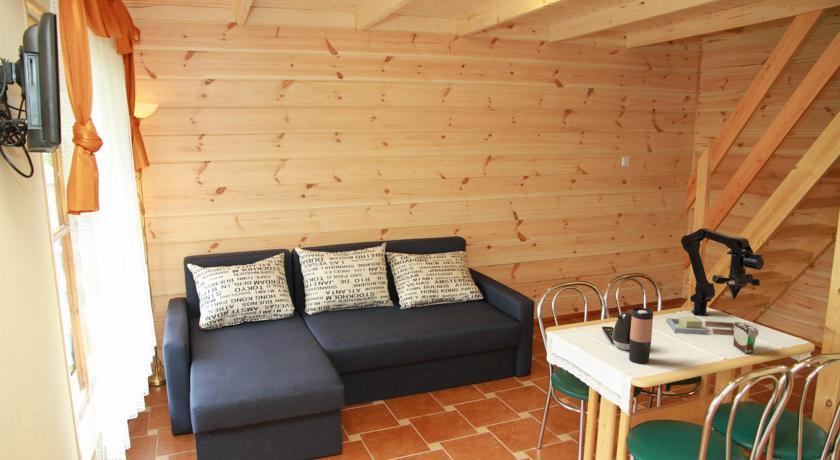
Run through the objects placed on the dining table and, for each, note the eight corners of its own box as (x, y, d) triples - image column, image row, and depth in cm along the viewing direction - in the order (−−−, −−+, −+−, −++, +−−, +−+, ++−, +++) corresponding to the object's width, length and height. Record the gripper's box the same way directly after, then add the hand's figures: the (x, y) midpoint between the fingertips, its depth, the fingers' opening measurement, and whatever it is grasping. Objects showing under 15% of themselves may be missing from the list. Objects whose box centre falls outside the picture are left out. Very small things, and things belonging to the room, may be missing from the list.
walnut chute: (704, 325, 269) (705, 321, 269) (742, 327, 267) (742, 323, 266) (713, 334, 257) (713, 329, 257) (752, 336, 255) (753, 332, 255)
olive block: (678, 327, 267) (679, 316, 266) (693, 327, 267) (694, 316, 266) (685, 332, 260) (686, 321, 259) (701, 332, 260) (702, 321, 259)
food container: (762, 356, 233) (765, 331, 231) (746, 355, 233) (749, 331, 231) (746, 344, 245) (748, 321, 243) (731, 344, 245) (733, 321, 243)
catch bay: (666, 321, 273) (666, 317, 273) (696, 323, 271) (697, 319, 271) (674, 332, 258) (675, 328, 258) (707, 334, 256) (707, 330, 256)
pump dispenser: (605, 345, 242) (608, 309, 240) (626, 342, 246) (629, 307, 243) (622, 353, 233) (625, 316, 230) (643, 350, 236) (646, 314, 234)
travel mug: (644, 356, 230) (648, 307, 227) (652, 364, 223) (657, 313, 219) (625, 356, 230) (629, 307, 227) (632, 364, 222) (636, 313, 219)
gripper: (721, 268, 261) (718, 302, 264) (766, 270, 258) (763, 304, 261) (713, 262, 272) (710, 295, 274) (756, 264, 269) (752, 297, 272)
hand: (733, 298), depth 270 cm, fingers closed
